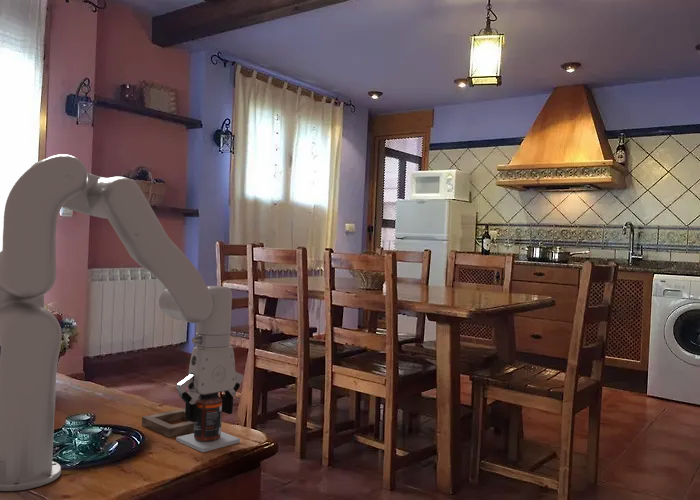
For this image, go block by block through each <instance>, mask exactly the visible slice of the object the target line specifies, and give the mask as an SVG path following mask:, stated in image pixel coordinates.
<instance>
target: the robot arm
mask: <svg viewBox="0 0 700 500" xmlns="http://www.w3.org/2000/svg"><path fill="white" fill-rule="evenodd" d="M62 208H65V209H68V210H70V211H71V210H72V211H73V212H74V211H75V212H78V213H80V214H84V215H88V216H91V217H96V218H98V219H99V218H100V219H106V220H108V222H109V224H110V225H111V227H112V229H113V230H114V231H115V234H116V235H117V236H118V238H119V240H120V242H121V243H122V244H123V247H124V248H125V250H126V251H127V253H128V254H129V256H130V258H132V260H134V261H135V262H136V264H138V266H140V267H142V268H143V269H145V270H147V272H150V273H151V274H152V275H154V277H155V278H156V279H158V280H159V282H161V284H162V285H163V286H164V287H165V289H163V290H162V291H161V293H160V295H159V297H158V306H159V309H160V311H161V312H162V313H163V314H164V315H166V316H167V317H168V318H171V319H175V320H178V321H182V322H186V323H190V324H196V330H195V331H196V332H195V337H192V339H191V343H192V344H193V345H194V344H195V347H193V348H192V351H191V356H190V359H189V360H190V361H189V367H188V373H187V374H188V375H187V376H186V377H185V378H184V379H182V380H180V381H179V382H178V383H176V385H175V389H176V390H177V392H178V396H179V398H180V399H182V401H183V402H184V403H185V417H186V420H188V421H191V422H196V418H197V404H195V401H196V400H197V399H198V397H199V396H200V394H201V395H207V394H213V393H218V394H219V393H222V392H223V393H224V394H222V396H221V397H222V398H221V399H222V413H225V414H228V415H232V414H233V407H234V397H235V396H236V395H237V391H238V390H239V388H241V383H242V381H243V378H244V375H243V374H242V373H239V372H237V371H236V361H235V360H236V359H235V351H234V348H233V346H232V345H231V326H232V325H231V324H232V307H233V306H232V305H233V292H232V289H231V287H228V286H222V285H207V283H206V282H205V280H204V278H203V277H202V275H201V274H200V272H199V270H198V269H197V268H196V266H195V265H194V263H192V262H191V260H190V259H189V258H188V256H186V255H185V253H184V252H183V251H182V250H181V249H180V248H179V247H178V246H177V245H176V244H175V243H174V241H172V240H171V238H170V237H169V235H168V233H167V232H166V231H165V228H164V227H163V225H162V224H161V222H160V220H159V218H158V217H157V215H156V213H155V211H154V210H153V207H152V206H151V204H150V203H149V201H148V199H147V198H146V196H145V194H144V192H143V191H142V189H141V188H140V186H139V185H138V184H137V182H135V181H134V179H133V180H132V178H129V177H125V176H112V177H103V176H98V175H96V174H92V173H89V172H88V169H87V167H86V165H85V163H84V162H83V161H82V160H80V159H79V158H78V157H76V156H73V155H70V154H64V153H63V154H56V155H52V156H49V157H46V158H44V159H41V160H38V161H37V162H35V163H34V164H32V165H31V166H30V167H29V168H28V169H27V170H26V171H25V172H24V173H23V174H22V175H21V176H20V177H19V178H18V179H17V180H16V182H15V183H14V185H13V186H12V188H11V189H10V191H9V193H8V196H7V198H6V202H5V205H4V212H3V213H4V214H3V227H2V229H3V230H2V250H1V251H0V492H18V491H25V490H30V489H35V488H39V487H42V486H44V485H47V484H51V483H52V482H54V481H55V480H57V479H58V478H59V477H60V476H61V474H62V466H61V465H60V464H59V463H58V462H56V461H53V454H54V434H55V433H54V432H55V415H56V414H55V412H56V394H57V393H56V391H57V390H56V387H57V386H56V385H57V371H58V362H59V356H60V351H61V346H62V328H61V325H60V322H59V320H58V318H57V316H55V315H54V314H53V313H52V312H51V311H49V310H48V309H47V308H45V295H46V294H47V293H49V291H50V290H52V288H53V287H54V285H55V283H56V279H57V260H56V259H57V256H56V255H57V249H56V247H57V244H56V243H57V241H56V240H57V239H56V238H57V237H56V236H57V223H58V217H59V214H60V212H61V209H62ZM186 388H187V389H188V391H187V390H186ZM186 420H185V421H186ZM188 421H187V422H188Z"/></svg>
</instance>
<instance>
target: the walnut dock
mask: <svg viewBox="0 0 700 500" xmlns="http://www.w3.org/2000/svg"><path fill="white" fill-rule="evenodd" d="M180 420H182V421H183V422H179V423H175V424H171V422H176V421H177V422H178V421H180ZM141 426H143V427H144V428H148V429H149V430H152V431H154V432H156V433H158V434H161V435H163V436H165V437H166V438H173V437H178V436H182V435H187V434H188V433H189V434H191V433H194V422H191V421H188V420H186V417H185V408H179V409H176V410H175V409H174V410H169V411H165V412H160V413H154V414H150V415H144V416H142V417H141Z"/></svg>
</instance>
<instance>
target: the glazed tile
mask: <svg viewBox="0 0 700 500" xmlns="http://www.w3.org/2000/svg"><path fill="white" fill-rule="evenodd" d="M175 437H176V442H178V443H180V444H183V445H185V446H188V447H189V448H192V449H194V450H196V451H199V452H200V453H206V452H210V451H212V450H213V451H214V450H216V449H219V448H220V449H221V448H224V447H228V446H231V445H235V444H239V443H241V438H239V437H236V436H234V435H231V434H229V433H226V432H224V431H222V430H221V436H220V438H218V439H217V440H214V441H199V440H196V439H195V438H194V432H191V433H189V434H188V433H187V434H183V435H178V436H175Z"/></svg>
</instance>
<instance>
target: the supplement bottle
mask: <svg viewBox="0 0 700 500" xmlns="http://www.w3.org/2000/svg"><path fill="white" fill-rule="evenodd" d="M195 404H197V418H196V422H194V432H193V433H194V438H195V439H196V440H199V441H214V440H217V439H218V438H220V436H221V431H222V417H223V416H222V413H223V412H222V398H221V396H219V392H218V393H213V394H207V395H201V394H200V396H199V397H198V399H197V400H196V401H195Z"/></svg>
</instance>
